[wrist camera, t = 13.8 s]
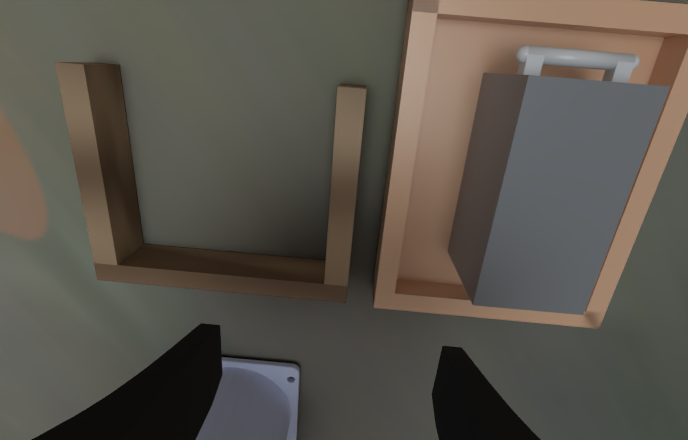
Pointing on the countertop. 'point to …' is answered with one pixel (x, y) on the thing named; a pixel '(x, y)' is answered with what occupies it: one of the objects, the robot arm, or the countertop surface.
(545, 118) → the caddy
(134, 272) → the bay
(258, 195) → the countertop surface
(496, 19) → the tray
